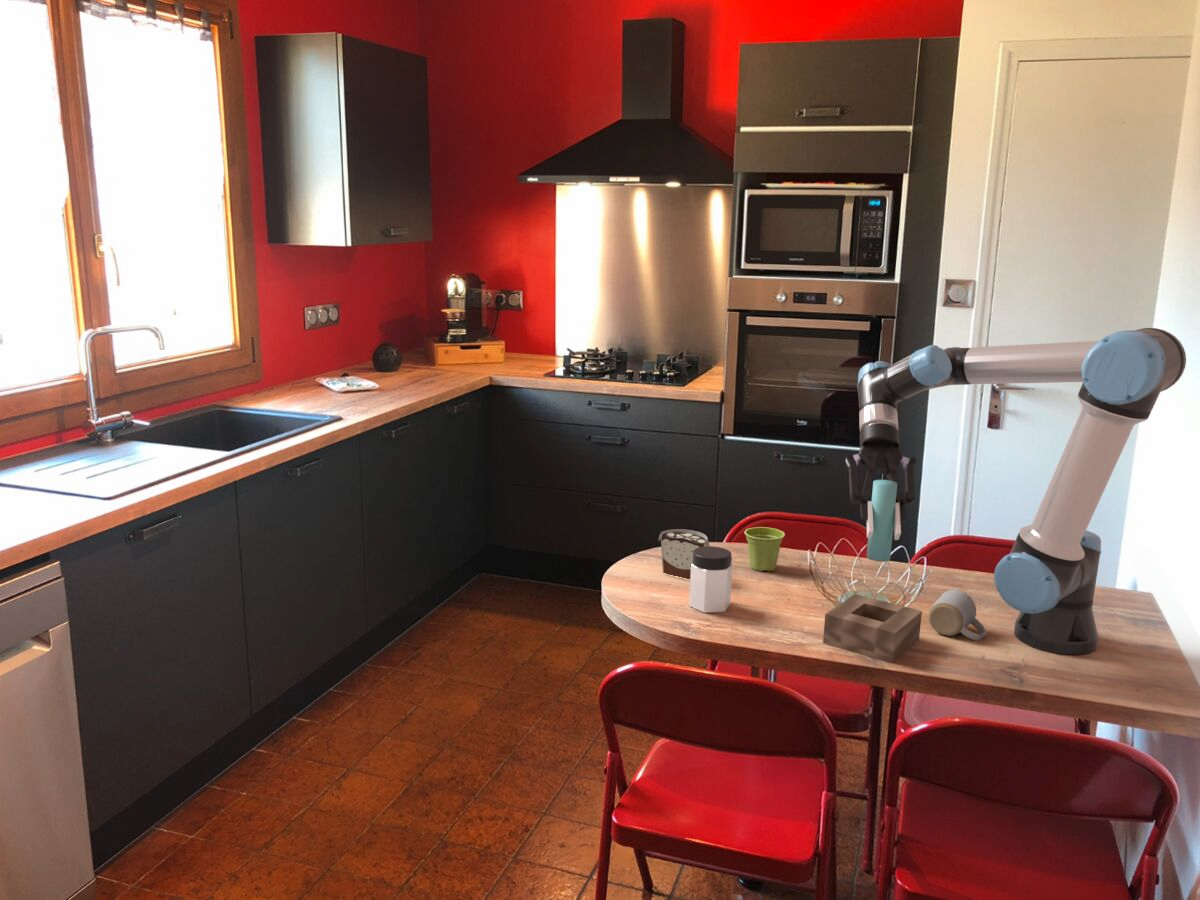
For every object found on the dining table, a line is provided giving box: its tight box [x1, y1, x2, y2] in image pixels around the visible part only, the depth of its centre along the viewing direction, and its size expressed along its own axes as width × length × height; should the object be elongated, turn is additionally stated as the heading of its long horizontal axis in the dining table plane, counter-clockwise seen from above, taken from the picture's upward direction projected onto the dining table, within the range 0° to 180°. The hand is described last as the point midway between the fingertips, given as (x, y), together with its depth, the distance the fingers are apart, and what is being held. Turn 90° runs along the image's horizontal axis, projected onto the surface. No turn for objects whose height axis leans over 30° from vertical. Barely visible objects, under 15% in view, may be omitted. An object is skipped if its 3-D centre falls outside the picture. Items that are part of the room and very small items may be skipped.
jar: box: [688, 545, 733, 614], centre depth 209 cm, size 9×8×12 cm
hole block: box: [822, 593, 923, 664], centre depth 194 cm, size 14×14×6 cm
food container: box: [658, 528, 710, 579], centre depth 228 cm, size 12×6×10 cm, turn 58°
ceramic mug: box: [928, 589, 987, 641], centre depth 199 cm, size 11×8×8 cm
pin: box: [866, 479, 897, 563], centre depth 189 cm, size 4×4×15 cm
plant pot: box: [744, 526, 786, 572], centre depth 234 cm, size 9×9×9 cm
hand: (883, 535), depth 186 cm, fingers closed on pin, 4 cm apart
